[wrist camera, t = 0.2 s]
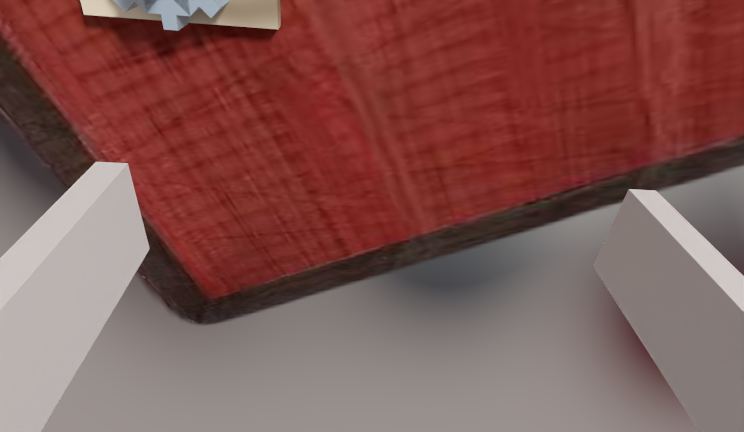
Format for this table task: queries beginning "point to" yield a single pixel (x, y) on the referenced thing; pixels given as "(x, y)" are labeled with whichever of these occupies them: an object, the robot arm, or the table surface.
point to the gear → (174, 9)
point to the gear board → (201, 13)
